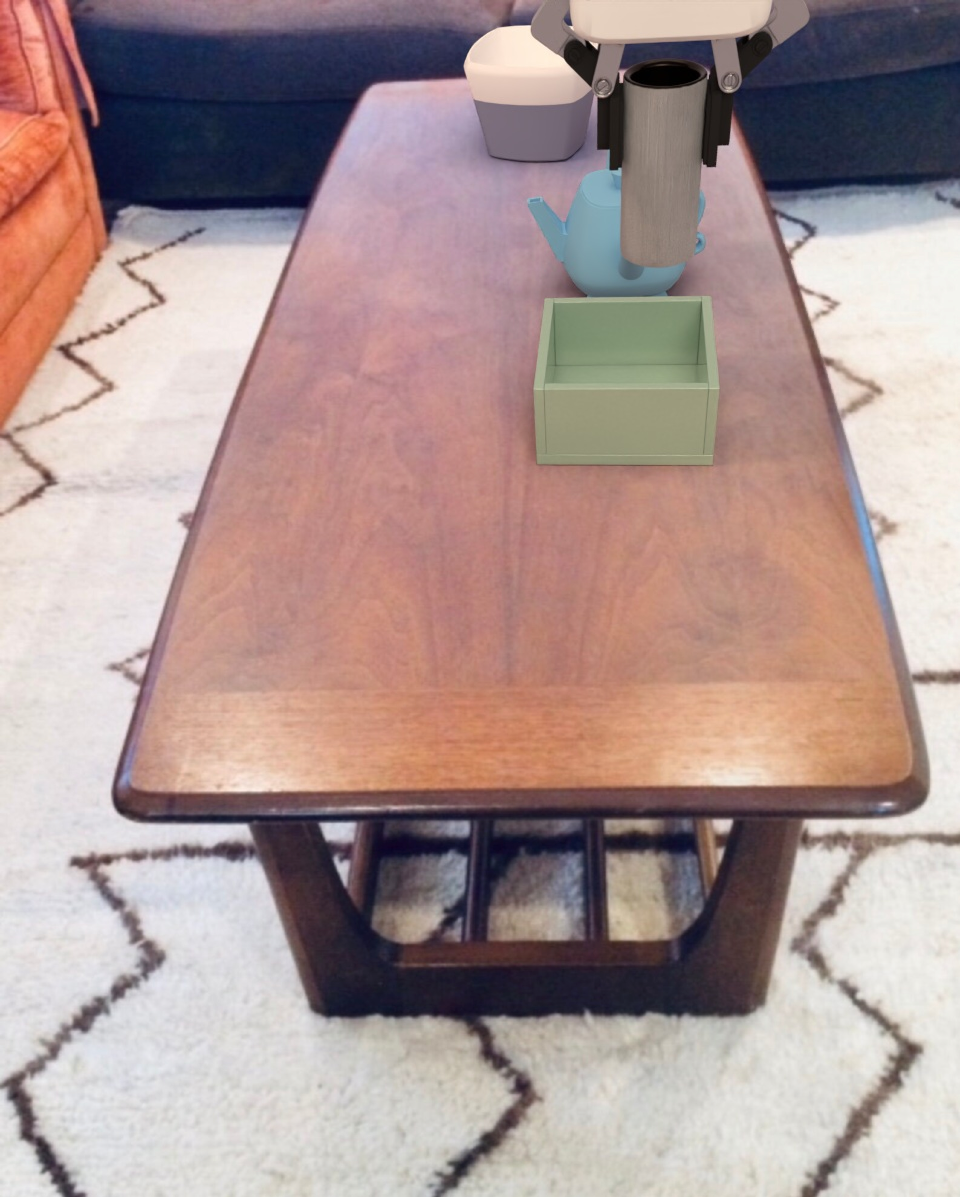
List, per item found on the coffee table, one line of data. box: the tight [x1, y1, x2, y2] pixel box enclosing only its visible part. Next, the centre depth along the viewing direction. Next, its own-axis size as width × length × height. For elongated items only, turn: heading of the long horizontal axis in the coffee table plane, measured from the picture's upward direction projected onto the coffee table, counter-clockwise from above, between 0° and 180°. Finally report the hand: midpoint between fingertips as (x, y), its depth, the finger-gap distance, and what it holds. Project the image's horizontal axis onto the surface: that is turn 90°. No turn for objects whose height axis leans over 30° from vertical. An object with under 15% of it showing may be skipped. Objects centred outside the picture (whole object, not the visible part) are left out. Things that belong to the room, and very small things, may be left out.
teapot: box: [526, 150, 707, 298], centre depth 102 cm, size 15×14×11 cm
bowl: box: [463, 24, 598, 162], centre depth 128 cm, size 15×15×11 cm
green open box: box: [532, 295, 721, 466], centre depth 88 cm, size 14×14×7 cm
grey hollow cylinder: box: [620, 58, 709, 268], centre depth 63 cm, size 4×4×10 cm
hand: (661, 155), depth 62 cm, fingers closed on grey hollow cylinder, 4 cm apart
